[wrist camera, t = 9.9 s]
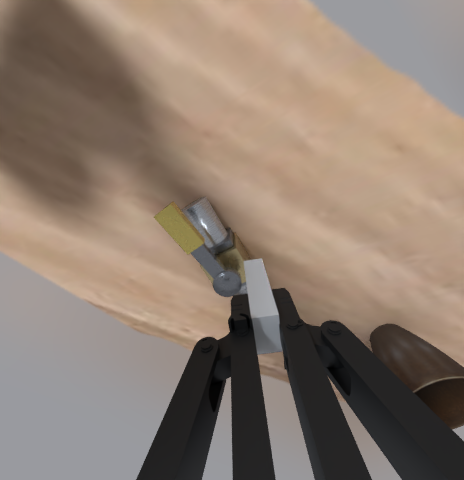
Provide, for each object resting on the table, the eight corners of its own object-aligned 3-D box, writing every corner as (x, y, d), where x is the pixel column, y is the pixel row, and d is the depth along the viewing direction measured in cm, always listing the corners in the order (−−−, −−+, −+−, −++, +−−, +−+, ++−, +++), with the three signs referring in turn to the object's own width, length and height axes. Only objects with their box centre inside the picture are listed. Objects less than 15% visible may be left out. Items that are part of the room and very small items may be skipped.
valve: (179, 209, 41) (166, 226, 33) (211, 191, 40) (206, 203, 32) (240, 303, 49) (243, 335, 41) (268, 290, 48) (277, 321, 40)
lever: (246, 281, 36) (247, 287, 35) (224, 295, 37) (224, 301, 36) (176, 198, 31) (174, 200, 30) (153, 216, 32) (149, 220, 31)
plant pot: (354, 363, 57) (398, 439, 42) (350, 318, 52) (400, 387, 37) (416, 351, 56) (483, 425, 41) (419, 304, 50) (498, 369, 35)
